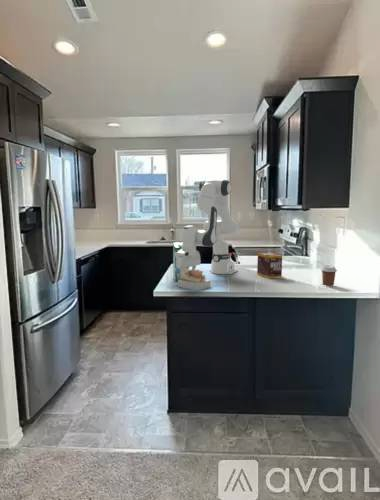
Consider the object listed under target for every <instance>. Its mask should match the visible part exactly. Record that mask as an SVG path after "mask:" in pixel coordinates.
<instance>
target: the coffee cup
mask: <svg viewBox="0 0 380 500" xmlns="http://www.w3.org/2000/svg"><path fill="white" fill-rule="evenodd" d="M320 271H321V273H322V274H321V276H322V286H323V285H326V286H333V285H335V279H336V273H337V272H338V269H337V268H336V266H334V265H324V266H323V265H322V268H320ZM326 286H325V287H326ZM333 287H334V286H333Z"/></svg>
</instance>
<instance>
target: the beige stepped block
mask: <svg viewBox="0 0 380 500" xmlns="http://www.w3.org/2000/svg"><path fill="white" fill-rule="evenodd" d="M185 271H186V272H187V275H183V271H181V275H180V278H182V279H186V280H190V281H194V282H198V283H200V282H203V281H205V280H207V279H206V278H207V277H206V275H205V274H202V276H199V277H198V276H193V271H194V270H192V269H190V268H189V269H186V270H185Z"/></svg>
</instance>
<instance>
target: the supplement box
mask: <svg viewBox="0 0 380 500" xmlns="http://www.w3.org/2000/svg"><path fill="white" fill-rule="evenodd" d="M256 265H257V270H256V271H257V273H256V275H258V276H261V277H262V278H263V277H264V278H267V279H269V278H270V279H277V278H276V277H280V278H282V277H283V276H282V274H283V273H282V272H283V271H282V270H283V255H282V254H278V253H274V252H260V253H257V264H256Z"/></svg>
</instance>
